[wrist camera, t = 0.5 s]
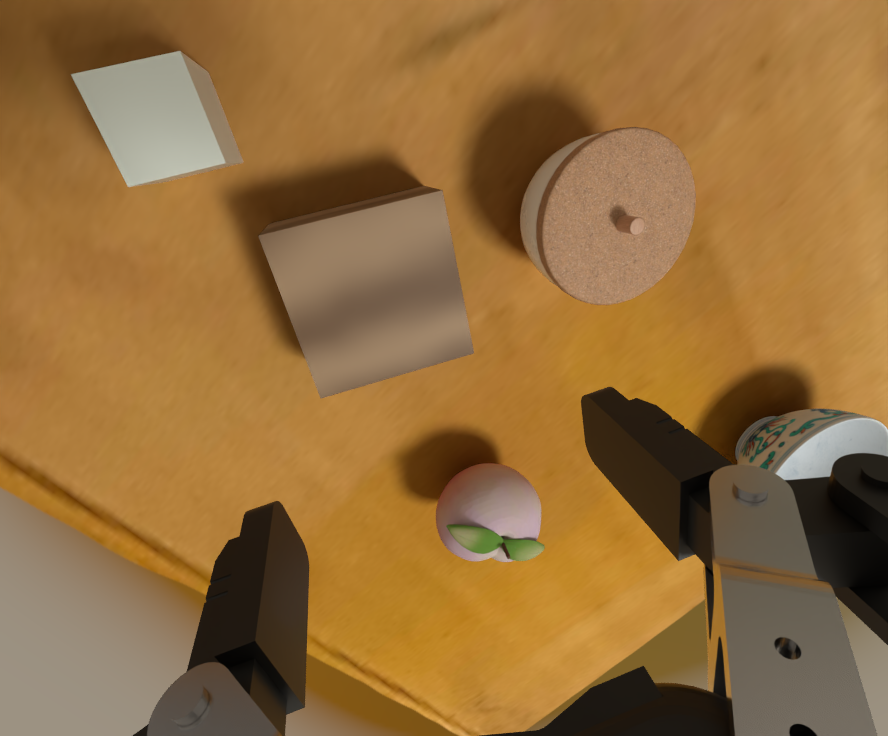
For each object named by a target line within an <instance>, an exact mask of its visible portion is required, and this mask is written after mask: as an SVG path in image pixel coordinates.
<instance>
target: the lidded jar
mask: <svg viewBox="0 0 888 736" xmlns="http://www.w3.org/2000/svg"><path fill="white" fill-rule="evenodd" d="M695 198H696V193H695V186H694V180H693V176H692V172H691V169H690V167H689V164H688V162H687V160H686V158H685V156H684V155H683V153H682V152H681V151H680V149H679V148H678V147H677V146H676V145H675V144H674V143H673V142H672V141H671V140H670V139H669V138H667V137H665V136H664V135H662V134H660V133H659V132H656V131H653V130H650V129H647V128H638V127H629V128H618V129H613V130H610V131H606V132H603V133H598V134H594V135H590V136H587V137H584V138H581V139H578V140H576V141H574V142H572V143H570V144H568V145H566V146H565V147H563V148H561V149H560V150H559V151H557V152H556V153H554V154H553V155H552V156H550V157H549V158H548V159H547V160H546V161H545V162H544V163H543V164H542V166H541V167H540V168H539V169H538V171H537V172H536V173H535V175H534V177H533V178H532V180H531V182H530V183H529V185H528V188H527V190H526V192H525V195H524V198H523V202H522V206H521V213H520V230H521V236H522V241H523V244H524V247H525V250H526V252H527V254H528V256H529V258H530V259H531V261H532V262H533V264H534V265H535V266H536V268H537V269H538V270H539V271H540V272H541V273H542V274H543V275H544V276H545V277H546V278H547V279H548V280H549V281H550V282H552V283H553V284H555V285H556V286H558V287H559V288H560V289H561V290H562V291H564V292H565V293H567V294H569V295H570V296H572V297H573V298H575V299H578V300H580V301H583V302H585V303H590V304H595V305H610V304H616V303H621V302H624V301H627V300H630V299H632V298H634V297H636V296H638V295H640V294H642V293H643V292H645V291H646V290H648V289H649V288H651V287H652V286H653V285H655V284H656V283H657V282H658V281H659V280H660V279H661V278H662V277H663V276H664V275H665V274H666V273H667V272H668V271H669V270H670V269H671V267H672V266H673V264H674V263H675V261H676V260H677V258H678V257H679V255H680V253H681V252H682V250H683V248H684V246H685V244H686V241H687V239H688V236H689V234H690V230H691V227H692V224H693V219H694V212H695Z"/></svg>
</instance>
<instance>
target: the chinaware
mask: <svg viewBox="0 0 888 736" xmlns="http://www.w3.org/2000/svg"><path fill="white" fill-rule="evenodd" d="M854 453H872V454H879V455H884V456H888V429H887V428H886V427H885V425H883V424H882V423H881V422H879V421H877V420H875V419H873V418H870V417H867V416H863V415H860V414H855V413H851V412H846V411H840V410H832V409H806V410H799V411H794V412H790V413H786V414H783V415H781V416H778V417H777V416H769V417H765V418H762V419H760V420H758V421H756V422H755V423H753V424H752V425H751V426H749V427H748V428H747V429H746V430H745V432H744V433H743V434H742V435H741V437H740V439H739V440H738V443H737V445H736V449H735V456H736V459H737V461H738V464H737V465H751V466H756V467H760V468H763V469H766V470H769V471H771V472H773V473H775V474H777V475H778V476H780V477H781V478H782V479H784V480H795V479H807V478H818V477H830V475H831V470H832V467H833V464H834V462H835V461H836V460H837V459H839V458H840V457H842V456H845V455H848V454H854Z"/></svg>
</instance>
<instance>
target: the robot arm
mask: <svg viewBox="0 0 888 736" xmlns="http://www.w3.org/2000/svg"><path fill="white" fill-rule="evenodd" d="M581 406H582V416H583V425H584V435H585V443H586V447H587V450H588V453H589V455H590V457H591V459H592V461H593V462H594V464H595V465H596V466H597V467H598V468H599V470H600V471H601V472H602V473H603V474H604V475H605V476H606V478H607V479H608V480H609V481H610V482H611V483H612V485H613V486H614V487H615V488H616V489H617V490H618V492H619V493H620V494H621V495H622V496H623V497H624V498H625V500H626V501H627V502H628V503H629V504H630V505H631V507H632V508H633V509H634V510H635V511H636V512H637V513H638V515H639V516H640V517H641V518H642V519H643V520H644V522H645V523H646V524H647V525H648V526H649V527H650V528H651V530H652V531H653V532H654V533H655V534H656V535H657V537H658V538H659V539H660V540H661V541H662V542H663V544H664V545H665V546H666V547H667V548H668V549H669V550H670V552H671V553H672V554H673V555H674V556H675V557H676V559H677V560H678V561H679V560H682V559H684V558H687V557H689V556H692V555H695V554H696V555H697V556H698V557H699V559H700V560H701V561H702V562H703V563H704V571H703V573H704V591H705V608H706V626H707V644H708V691H707V690H704V689H700V688H697V687H694V686H688V685H682V684H676V683H654V682H653V680H652V679H651V677H650V675H649V674H648V672H647V670H646V669H645V667H644V666H642V667H640V668H637V669H635V670H632V671H630V672H628V673H625V674H623V675H621V676H618V677H616V678H614V679H611V680H609V681H607V682H604V683H602V684H599V685H597V686H594V687H592V688H590V689H589V690H588V691H587V692H586V693H584V694H583V695H582V696H581V697H580V698H579V699H578V700H576V701H575V702H574V703H573V704H572V705H570V706H569V707H568V708H567V709H566V710H565V711H563V712H562V713H561V714H560V715H559V716H558V717H556V718H555V719H554V720H553V721H552V722H551V723H550V724H548V725H547V726H546V727H544V728H542V729H540V730H536V731H526V732H514V733H503V734H492V735H481V736H877V733H876V729H875V726H874V723H873V719H872V716H871V712H870V709H869V706H868V702H867V699H866V696H865V692H864V689H863V686H862V682H861V679H860V676H859V672H858V669H857V666H856V662H855V659H854V656H853V652H852V649H851V646H850V642H849V639H848V636H847V632H846V629H845V626H844V622H843V619H842V615H841V612H840V609H839V605H838V602H837V599H836V597H837V598H838V599H839V600H840V601H842V602H843V603H844V604H845V605H846V606H847V607H848V608H849V609H850V610H851V611H852V612H853V613H854V614H856V616H858V617H859V618H860V619H861V620H862V621H863V622H864V623H865V624H866V625H867V626H868V627H869V628H870V629H871V630H872V631H873V632H874V633H875V634H877V635H878V636H879V637H880V638H881V639H882V640H883V641H884V642H885V643H886V644H887V645H888V456H884V455H879V454H872V453H854V454H848V455H845V456H842V457H840V458H839V459H837V460H836V461H835V462H834V464H833V467H832V470H831V475H830V477H818V478H807V479H795V480H784V479H782V478H781V477H780V476H778V475H777V474H775V473H773V472H771V471H769V470H766V469H763V468H760V467H756V466H751V465H734V464H732V463H731V462H730V461H728V460H727V459H726V458H724V457H723V456H722V455H720V454H719V453H718V452H717V451H715V450H714V449H713V448H711V447H710V446H709V445H707V444H706V443H705V442H704V441H702V440H701V439H700V438H698V437H697V436H696V435H694V434H693V433H692V432H691V431H689V430H688V429H685V428H684V426H683V425H681V424H680V423H679V422H677V421H676V420H675V419H674V420H673V419H672V417H671V416H670V415H668V414H667V413H666V412H664V411H663V410H662V409H661V408H659V407H658V406H657V405H654V404H651V403H649V402H646V401H643V400H640V399H638V398H635V399H632V400H628V399H626V398H625V397H624V396H623V395H622V394H620V393H619V392H618V391H617V390H615V389H614V388H612V387H607V388H604V389H601V390H598V391H596V392H593V393H590V394H587V395H584V396H583V397H582V399H581ZM210 582H211V585H209V588H208V592H207V595H206V603H204V607H203V611H202V615H201V619H200V622H199V626H198V631H197V634H196V638H195V642H194V646H193V649H192V653H191V657H190V661H189V665H188V669H187V672H186V673H184V674H183V675H182V676H180V677H179V678H178V679H177V680H176V681H175V682H174V683H173V684H172V685H171V686H170V687H169V688H168V689H167V691H166V692H165V693H164V694H163V696H162V697H161V698H160V700H159V702H158V703H157V705H156V707H155V709H154V711H153V713H152V715H151V718H150V721H149V724H148V725H147V726H145V727H144V728H143V729H141V730H140V731H139V732H137V733H136V734H134V735H133V736H285V724H286V715H287V714H289V713H292V712H294V711H296V710H299V709H302V708H304V707H305V683H306V652H307V620H308V588H309V561H308V555H307V551H306V548H305V545H304V543H303V541H302V539H301V537H300V536H299V534H298V532H297V530H296V528H295V527H294V525H293V523H292V521H291V519H290V518H289V516H288V514H287V512H286V510H285V509H284V507H283V505H282V504H281V503H280V502H279V501H275V502H272V503H269V504H266V505H264V506H261V507H258V508H255V509H252V510H249V511H247V512H246V513H245V515H244V518H243V523H242V527H241V532H240V537H237V538H234V539H231V540H229V541H228V542H227V544H226V545H225V547H224V548H223V550H222V552H221V553H220V555H219V556H218V558H217V559H216V561H215V565H214V568H213V572H212V576H211V580H210Z"/></svg>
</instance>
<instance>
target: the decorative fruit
mask: <svg viewBox="0 0 888 736" xmlns="http://www.w3.org/2000/svg"><path fill="white" fill-rule="evenodd" d="M436 524H437V529H438V533H439V535H440V538H441V540H442V542H443V543H444V545H445V546H446V547H447V549H449V550H450V551H451V552H452V553H454V554H455V555H457V556H459V557H461V558H463V559H466V560H470V561H481V560H485V559H488V558H493V559H495V560H497V561H501V562H510V561H514V560H516V561H526V560H529V559H532V558H534V557H536V556H537V555H539V554H540V553H541V552H542V551H543V550H544V548H545V547H544V545H543V544H541V543H539V542H537V541H536V540H537V538H538V535H539V531H540V525H541V504H540V500H539V497H538V495H537V493H536V491H535V489H534V488H533V486H532V485H531V484H530V482H529V481H528V480H527V479H526V478H525V477H524V476H522V475H521V474H520V473H519V472H517V471H516V470H514V469H512V468H510V467H507V466H504V465H500V464H494V463H484V464H478V465H474V466H471V467H469V468H467V469H465V470H463V471H461V472H459V473H458V474H456V475H455V476H454V477H453V478H452V479H451V480H450V481H449V483H448V484H447V485H446V487H445V488H444V490H443V492H442V494H441V496H440V498H439V501H438V504H437V509H436Z"/></svg>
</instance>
